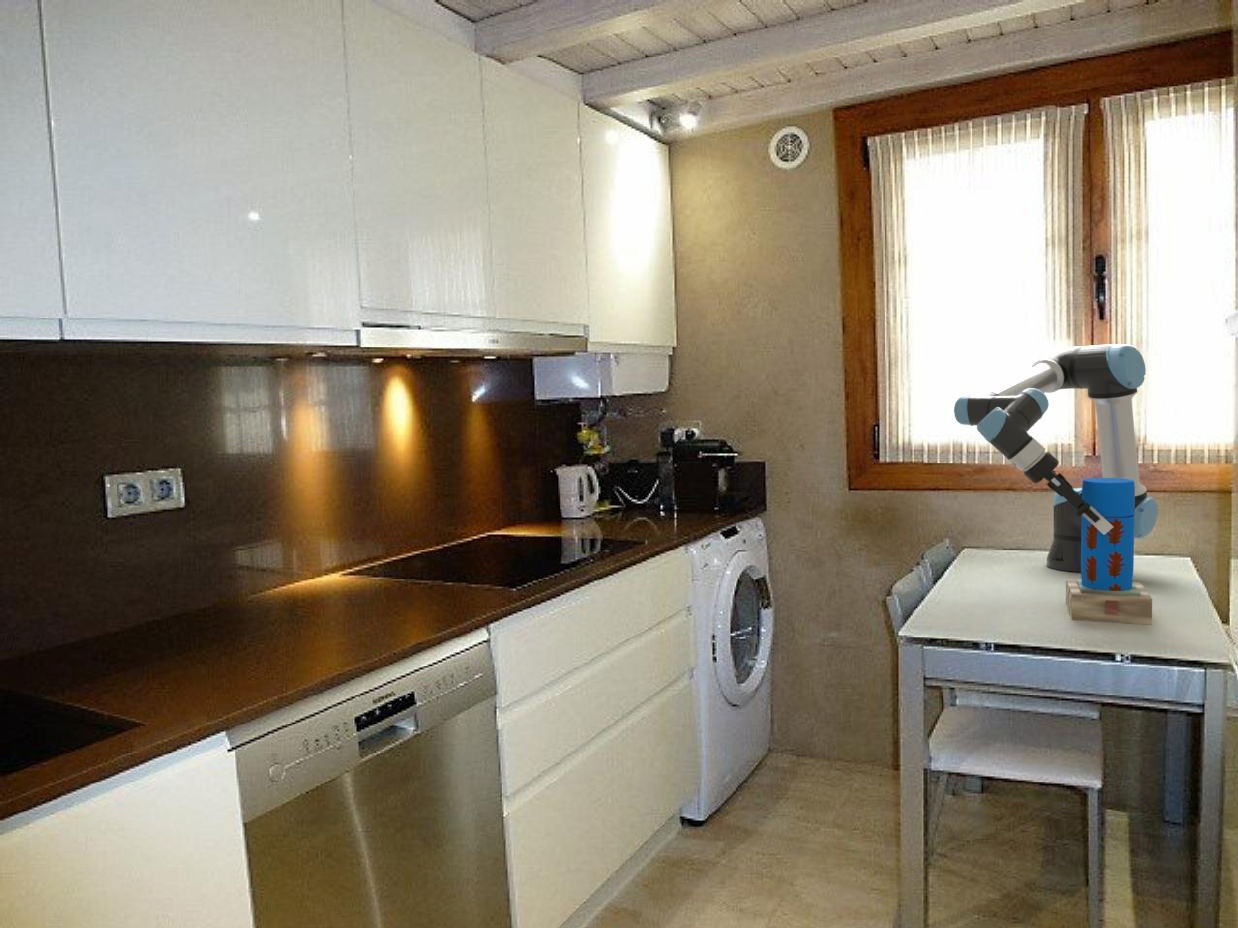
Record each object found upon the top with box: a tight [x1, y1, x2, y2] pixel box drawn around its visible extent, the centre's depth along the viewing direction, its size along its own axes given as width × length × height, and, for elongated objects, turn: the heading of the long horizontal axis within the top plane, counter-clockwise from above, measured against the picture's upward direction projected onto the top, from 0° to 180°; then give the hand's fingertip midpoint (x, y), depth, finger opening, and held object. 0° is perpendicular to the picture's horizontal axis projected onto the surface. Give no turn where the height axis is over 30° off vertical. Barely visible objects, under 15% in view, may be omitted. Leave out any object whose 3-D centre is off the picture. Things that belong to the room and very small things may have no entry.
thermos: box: [1080, 477, 1135, 591], centre depth 207 cm, size 11×11×25 cm
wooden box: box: [1065, 578, 1153, 626], centre depth 208 cm, size 17×16×7 cm
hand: (1104, 526), depth 207 cm, fingers open, 13 cm apart
